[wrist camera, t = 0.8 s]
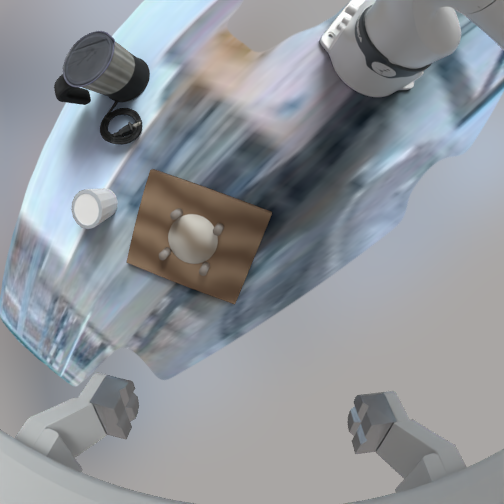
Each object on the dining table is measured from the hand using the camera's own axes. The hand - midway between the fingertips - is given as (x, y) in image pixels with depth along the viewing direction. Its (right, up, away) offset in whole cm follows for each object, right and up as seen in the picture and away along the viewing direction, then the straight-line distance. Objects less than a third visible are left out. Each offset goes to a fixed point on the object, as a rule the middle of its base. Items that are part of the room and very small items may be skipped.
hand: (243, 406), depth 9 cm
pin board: (-10, +8, +42) cm, 43 cm away
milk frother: (-22, +33, +34) cm, 53 cm away
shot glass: (-28, +15, +40) cm, 51 cm away
